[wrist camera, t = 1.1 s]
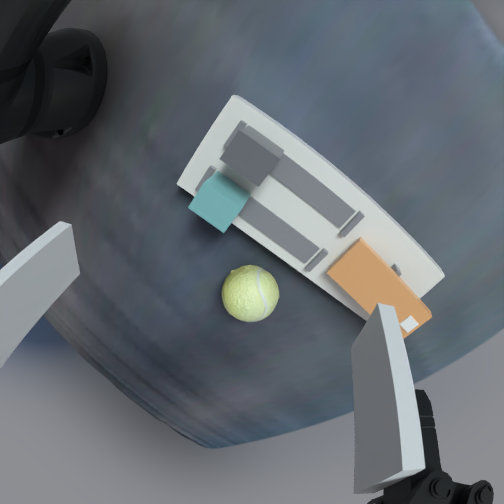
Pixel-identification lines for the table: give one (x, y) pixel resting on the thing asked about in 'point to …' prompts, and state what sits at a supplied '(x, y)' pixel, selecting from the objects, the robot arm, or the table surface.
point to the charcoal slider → (252, 155)
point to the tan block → (378, 286)
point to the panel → (308, 207)
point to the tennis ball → (250, 293)
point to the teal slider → (219, 201)
